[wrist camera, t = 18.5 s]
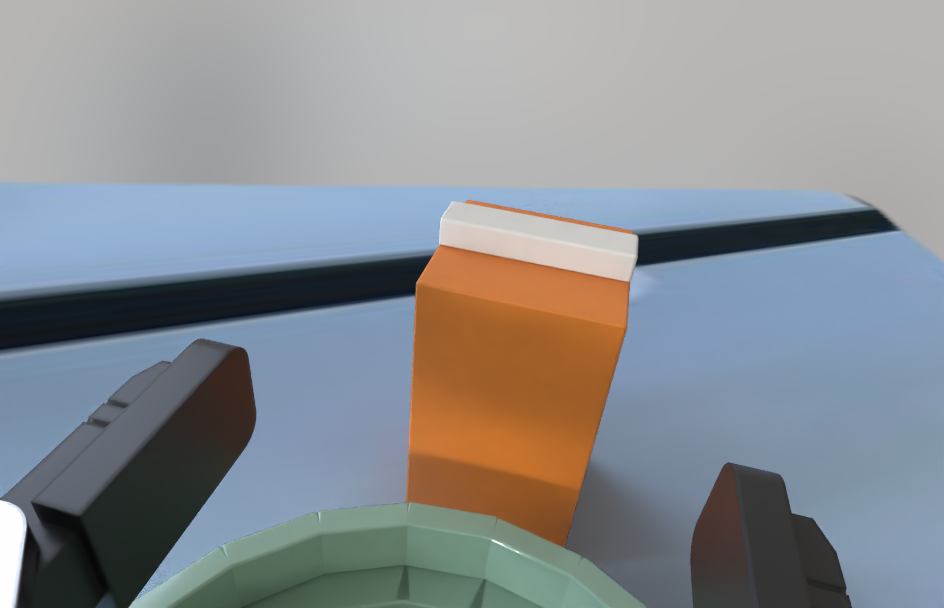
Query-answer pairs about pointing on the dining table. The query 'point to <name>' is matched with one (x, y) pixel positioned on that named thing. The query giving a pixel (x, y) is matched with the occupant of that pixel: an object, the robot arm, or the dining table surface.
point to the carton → (514, 361)
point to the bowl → (391, 566)
